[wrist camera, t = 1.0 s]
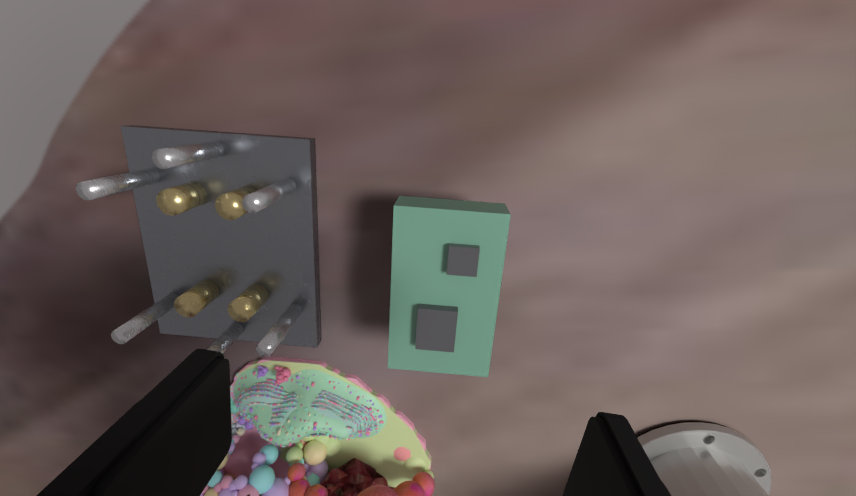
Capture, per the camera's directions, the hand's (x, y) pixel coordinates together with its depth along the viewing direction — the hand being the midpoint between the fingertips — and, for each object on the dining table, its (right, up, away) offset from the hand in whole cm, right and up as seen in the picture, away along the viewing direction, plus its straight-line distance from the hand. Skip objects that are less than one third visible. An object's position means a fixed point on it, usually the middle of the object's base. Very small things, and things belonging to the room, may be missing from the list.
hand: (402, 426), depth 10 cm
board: (+2, +3, +14) cm, 14 cm away
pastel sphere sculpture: (-12, -15, +25) cm, 32 cm away
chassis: (-13, +5, +18) cm, 23 cm away
